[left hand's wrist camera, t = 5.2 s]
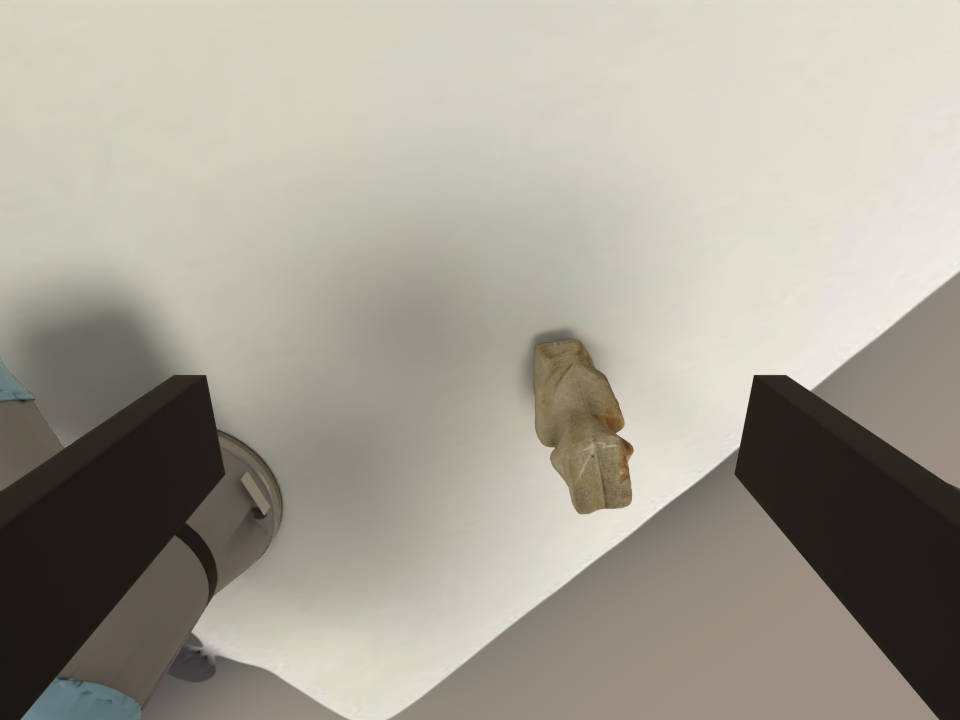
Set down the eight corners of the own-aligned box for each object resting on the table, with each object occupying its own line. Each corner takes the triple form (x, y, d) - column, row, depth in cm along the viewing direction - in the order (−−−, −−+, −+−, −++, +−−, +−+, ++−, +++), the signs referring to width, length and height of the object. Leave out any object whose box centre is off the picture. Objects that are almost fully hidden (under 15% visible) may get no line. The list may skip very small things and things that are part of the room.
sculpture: (528, 414, 44) (551, 529, 30) (519, 334, 42) (540, 418, 28) (596, 406, 44) (652, 518, 30) (592, 325, 41) (649, 405, 27)
